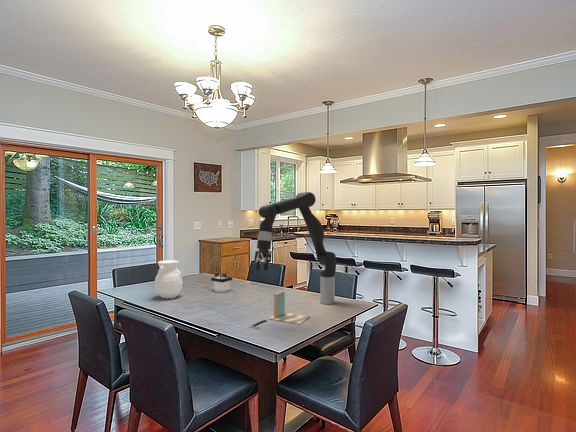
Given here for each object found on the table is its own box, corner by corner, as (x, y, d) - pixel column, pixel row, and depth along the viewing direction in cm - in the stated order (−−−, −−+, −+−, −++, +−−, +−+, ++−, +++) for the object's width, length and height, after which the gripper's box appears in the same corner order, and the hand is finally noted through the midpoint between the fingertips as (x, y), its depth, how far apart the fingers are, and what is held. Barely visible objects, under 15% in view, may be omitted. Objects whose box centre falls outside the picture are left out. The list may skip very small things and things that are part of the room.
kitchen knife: (277, 323, 190) (263, 320, 195) (277, 322, 190) (263, 319, 195) (241, 340, 165) (225, 336, 171) (241, 339, 165) (225, 335, 171)
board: (268, 319, 196) (268, 318, 196) (280, 312, 208) (280, 311, 208) (299, 324, 187) (299, 323, 187) (310, 317, 199) (310, 316, 199)
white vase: (166, 293, 259) (166, 259, 258) (188, 295, 253) (187, 260, 252) (148, 299, 241) (148, 262, 241) (171, 301, 235) (170, 263, 235)
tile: (274, 317, 198) (273, 294, 197) (281, 313, 205) (280, 291, 205) (277, 317, 196) (277, 294, 196) (284, 314, 204) (284, 291, 203)
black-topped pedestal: (247, 290, 270) (247, 272, 270) (222, 297, 248) (222, 278, 248) (220, 285, 285) (220, 269, 285) (195, 292, 263) (195, 274, 263)
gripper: (277, 240, 191) (274, 271, 188) (263, 242, 202) (260, 270, 199) (265, 238, 187) (261, 269, 184) (252, 240, 198) (248, 269, 195)
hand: (261, 270), depth 191 cm, fingers open, 8 cm apart
